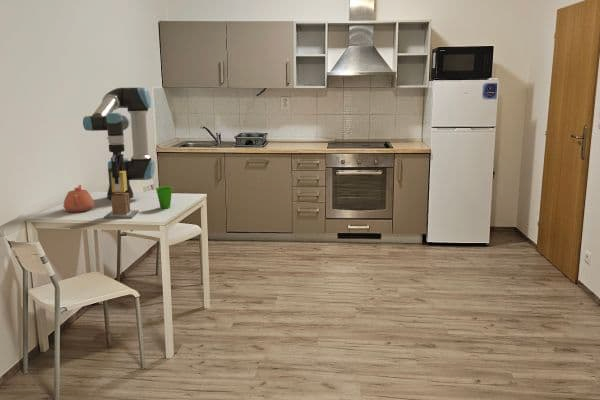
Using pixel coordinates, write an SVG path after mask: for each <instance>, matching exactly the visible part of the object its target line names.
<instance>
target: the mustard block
mask: <svg viewBox="0 0 600 400" xmlns="http://www.w3.org/2000/svg"><path fill="white" fill-rule="evenodd" d="M115 175H116V174H115ZM119 177H120V187H121V190H115V185H114V178H112V172H111V183H112V192H125V191H126V190H127V178H126V171H119Z"/></svg>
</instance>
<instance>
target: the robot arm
mask: <svg viewBox="0 0 600 400" xmlns="http://www.w3.org/2000/svg"><path fill="white" fill-rule="evenodd" d="M151 106H152V100H151V96H150V92H149V90H148V89H147V88H145V87H118V88H114V89H112V90H110V91H109V92H107V93H105V95H104V96H103V98H102V100H101V103H100V104H99V105H98V107H97V108H96V110H95V111H94V112H93V113H92V115H86V116H84V117H83V119H82V126H83V127H82V128H83V129H84V130H85V131H88V132H89V131H90V132H98V131H100V132H101V131H103V132H105V131H106V132H107V138H106V139H107V140H108V151H109V153H112V156H111V157H110V160H109V161H108V162H107V174H108V190H107V193H106V198H107V199H108V200H112V198H111V196H112V195H113V194H115V193H129V199H132V198H134V191H133V189H132V187H131V182H130V181H145V180H146V181H148V180H149V181H150V180H152V179H153V177H154V174H155V167H156V166H155V163H156V162H155V160H153V159H152V157H151V155H149V143H148V130H147V128H148V126H147V113H148V112H149V109H151V108H152V107H151ZM118 109H127V112H128V113H129V114H130V120H129V118H128V117H127V116H125V115H123V114H122V113H121V112H115V111H117V110H118ZM130 125H131V139H132V153H133V154H132V156H131V157H130V160H129V158H128V157H124V156H125V155H124V154H122V152H125V144H124V143H125V138H124V131H125V130H126V129H128V128H129V126H130ZM119 171H126V178H127V190H126V191H125V192H112V183H111V172H112V178H114V185H115V190H121V187H120V177H119ZM115 174H116V175H115Z"/></svg>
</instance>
